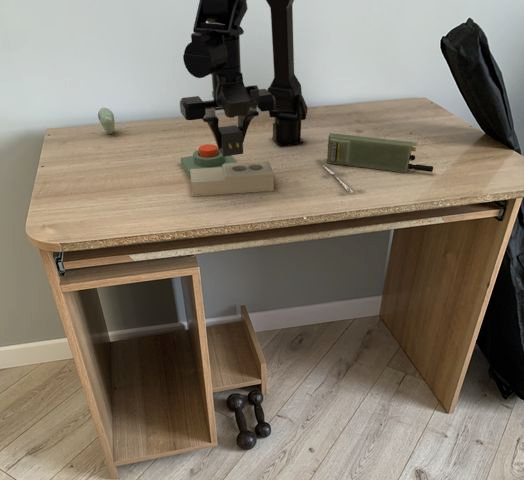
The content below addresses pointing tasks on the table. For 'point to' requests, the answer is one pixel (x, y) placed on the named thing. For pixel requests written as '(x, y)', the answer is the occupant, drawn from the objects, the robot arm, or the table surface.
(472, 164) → the table surface
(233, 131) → the charger head
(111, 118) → the pale green oval lump
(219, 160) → the switch box
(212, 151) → the switch button
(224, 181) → the electrical outlet
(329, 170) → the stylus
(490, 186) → the table surface
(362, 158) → the handheld radio
